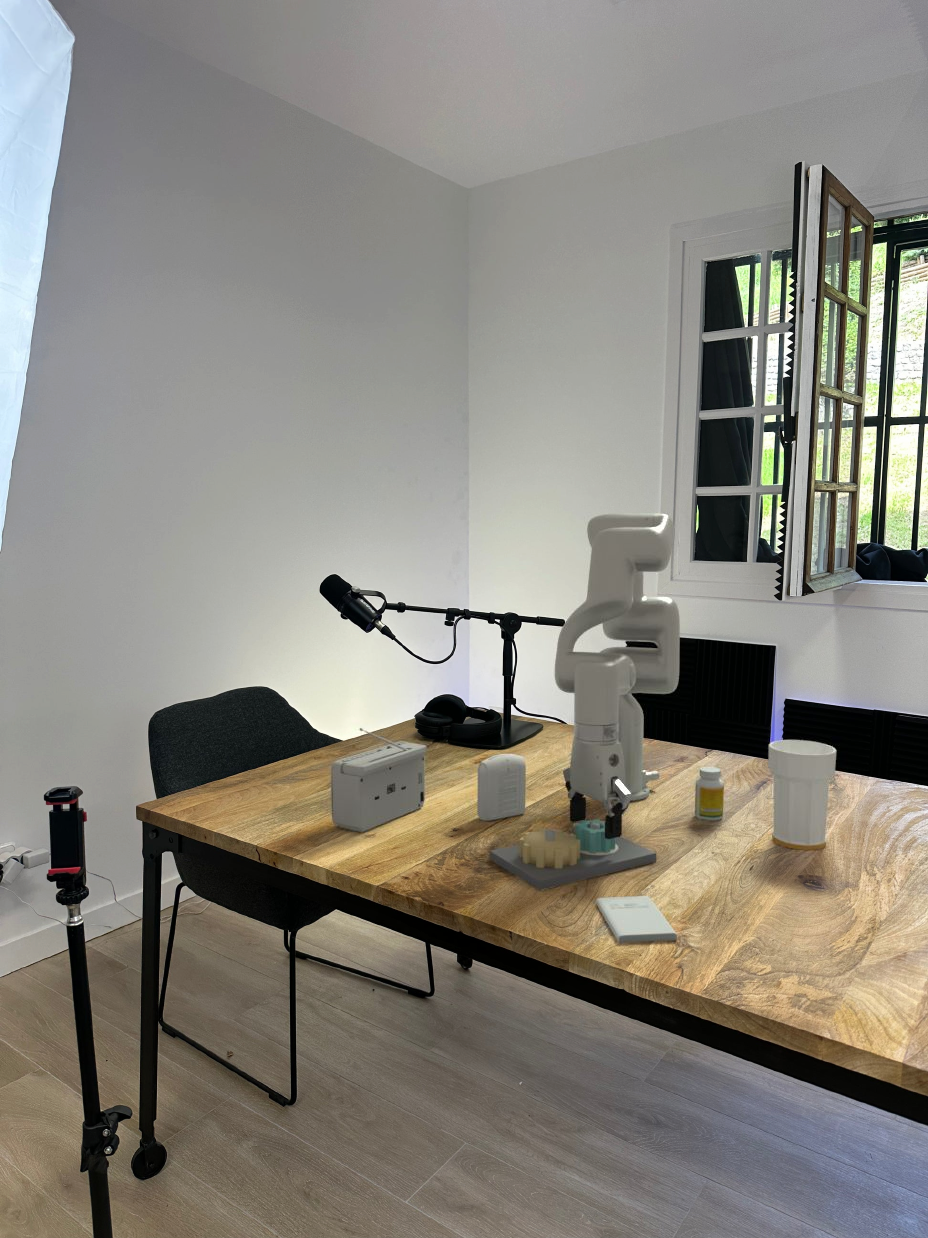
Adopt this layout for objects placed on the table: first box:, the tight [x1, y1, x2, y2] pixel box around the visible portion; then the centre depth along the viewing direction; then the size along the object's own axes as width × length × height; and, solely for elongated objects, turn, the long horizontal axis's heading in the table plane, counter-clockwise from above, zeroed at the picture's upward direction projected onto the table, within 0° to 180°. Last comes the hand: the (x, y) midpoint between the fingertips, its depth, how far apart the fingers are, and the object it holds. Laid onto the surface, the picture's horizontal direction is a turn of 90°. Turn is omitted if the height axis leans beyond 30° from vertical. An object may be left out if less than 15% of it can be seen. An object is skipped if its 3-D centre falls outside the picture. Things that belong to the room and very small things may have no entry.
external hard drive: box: [596, 895, 678, 944], centre depth 122 cm, size 2×8×12 cm
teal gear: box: [573, 819, 616, 854], centre depth 147 cm, size 7×7×4 cm
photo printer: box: [476, 753, 527, 822], centre depth 168 cm, size 10×4×12 cm, turn 123°
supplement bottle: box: [694, 766, 725, 822], centre depth 167 cm, size 5×5×10 cm
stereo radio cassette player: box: [330, 727, 428, 834], centre depth 167 cm, size 21×8×20 cm, turn 145°
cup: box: [768, 739, 837, 851], centre depth 153 cm, size 11×11×17 cm
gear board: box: [489, 823, 657, 891], centre depth 145 cm, size 24×15×6 cm, turn 120°
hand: (595, 828), depth 147 cm, fingers open, 9 cm apart
